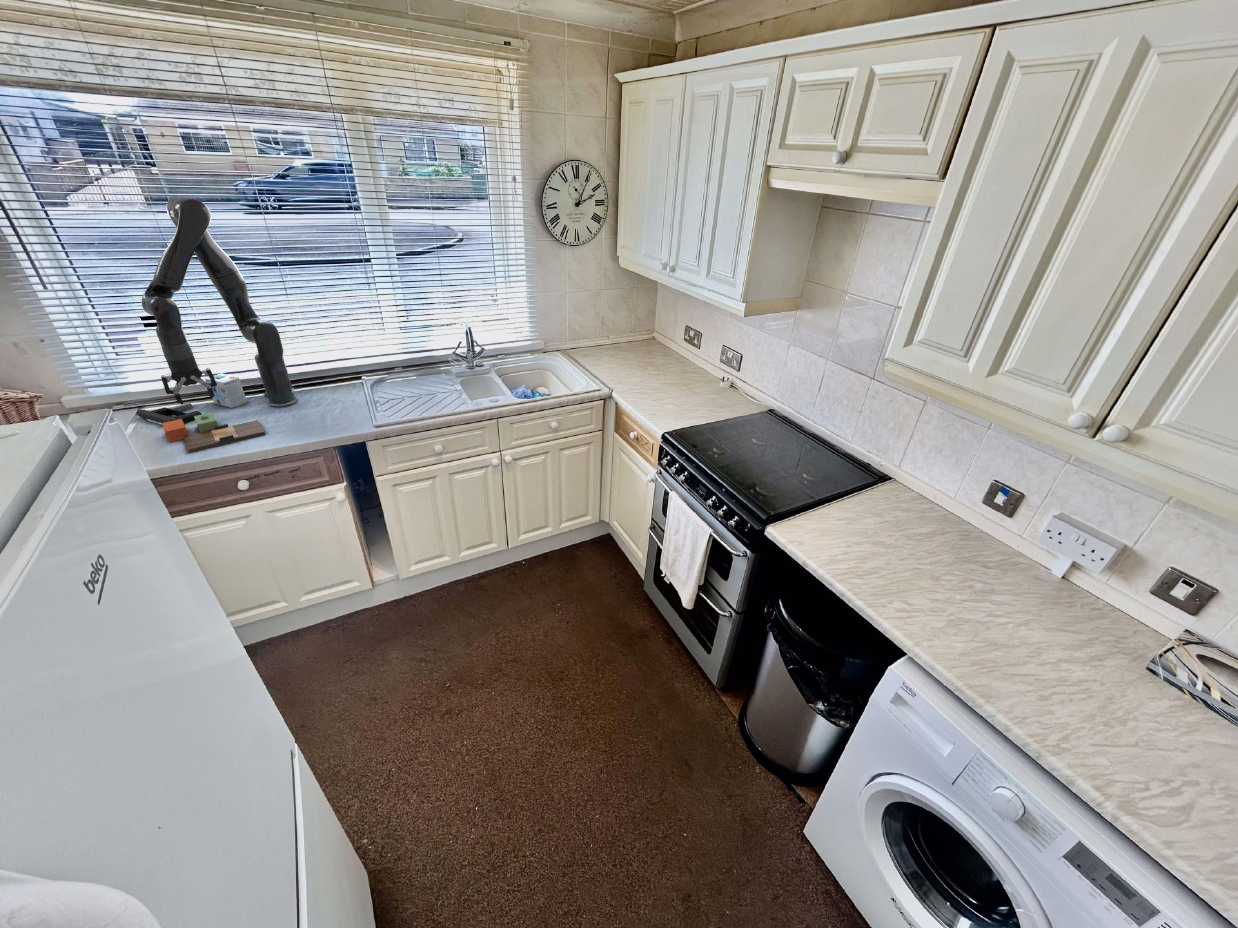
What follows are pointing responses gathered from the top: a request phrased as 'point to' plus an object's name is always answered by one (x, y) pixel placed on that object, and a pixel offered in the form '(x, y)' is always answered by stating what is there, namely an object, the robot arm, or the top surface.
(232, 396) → the light bulb box
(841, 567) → the top surface
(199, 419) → the green block with hole
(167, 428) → the orange block
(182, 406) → the black rectangular frame
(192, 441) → the jig board
